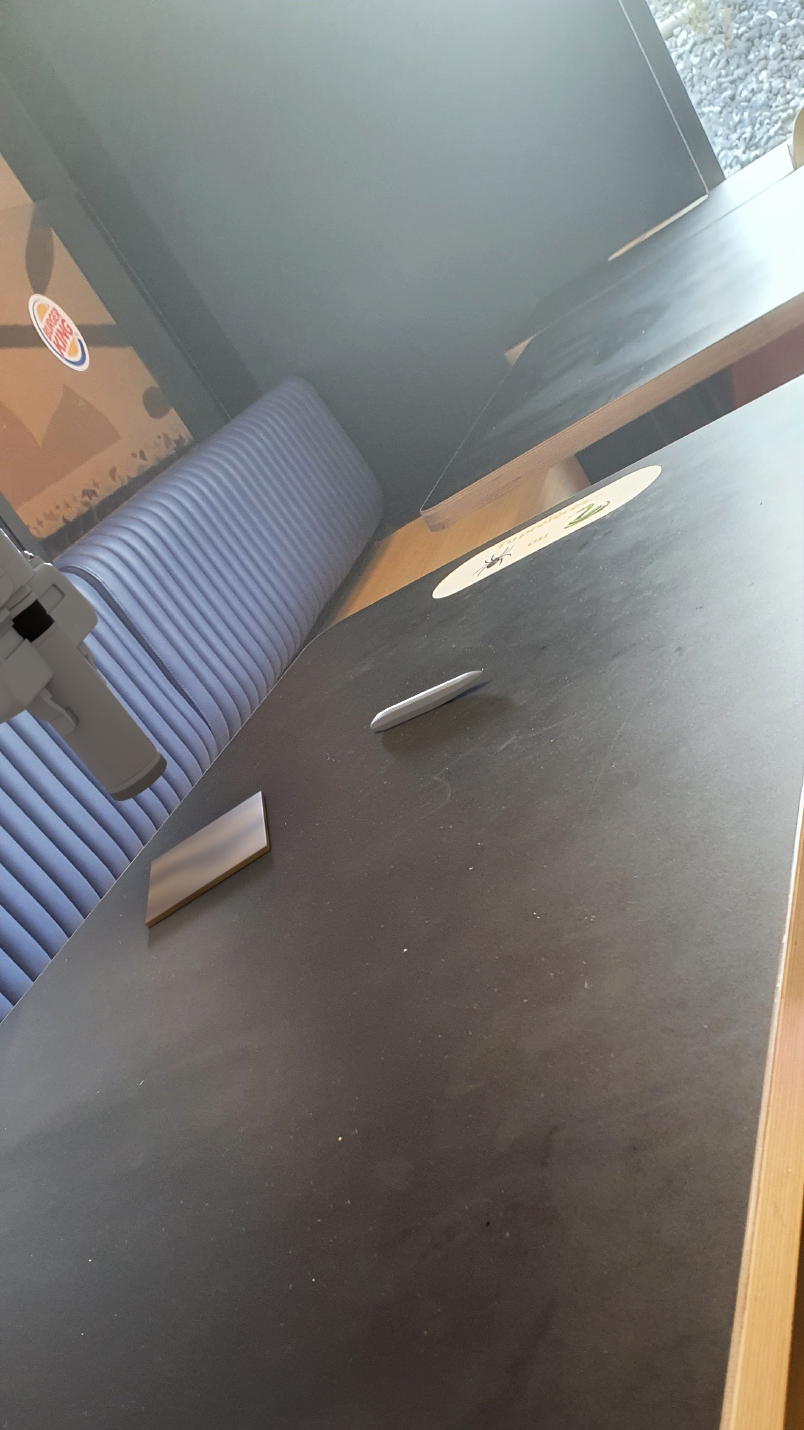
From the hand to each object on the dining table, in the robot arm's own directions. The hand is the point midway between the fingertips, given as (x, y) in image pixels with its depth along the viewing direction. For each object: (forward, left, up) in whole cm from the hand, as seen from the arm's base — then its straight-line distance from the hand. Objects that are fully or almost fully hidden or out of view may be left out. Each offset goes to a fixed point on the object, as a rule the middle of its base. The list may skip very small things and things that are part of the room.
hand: (85, 710), depth 107 cm
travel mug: (0, 0, -9) cm, 9 cm away
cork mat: (0, 0, -19) cm, 19 cm away
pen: (+25, +10, -19) cm, 33 cm away
